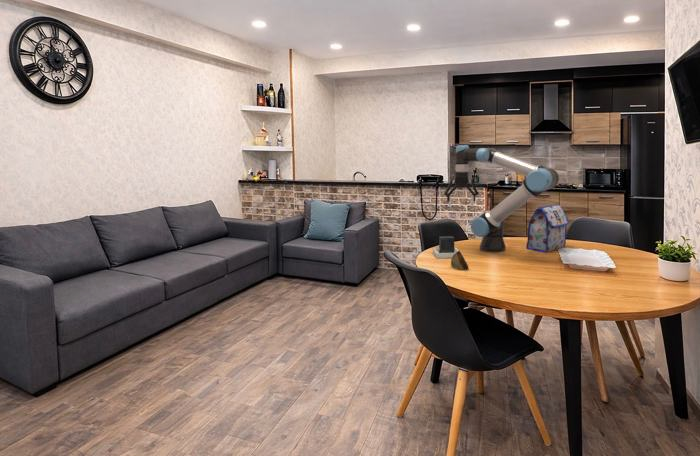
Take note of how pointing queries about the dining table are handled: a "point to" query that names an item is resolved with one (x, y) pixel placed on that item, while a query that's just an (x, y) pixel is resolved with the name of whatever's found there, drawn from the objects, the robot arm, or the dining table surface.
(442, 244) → the box
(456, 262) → the rock
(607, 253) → the dining table surface
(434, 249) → the tray
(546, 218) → the lunch bag
